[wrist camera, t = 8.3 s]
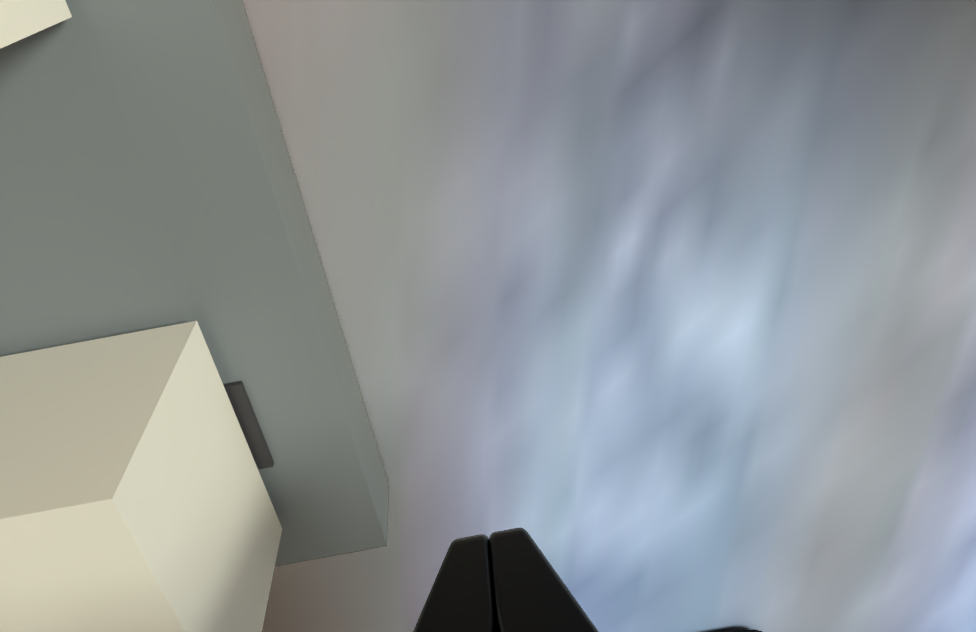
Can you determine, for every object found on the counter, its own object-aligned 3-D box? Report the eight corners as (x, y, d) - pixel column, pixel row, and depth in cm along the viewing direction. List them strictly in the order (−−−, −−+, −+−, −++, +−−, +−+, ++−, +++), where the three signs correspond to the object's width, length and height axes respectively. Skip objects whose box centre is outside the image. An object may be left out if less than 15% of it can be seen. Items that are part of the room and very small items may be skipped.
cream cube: (196, 321, 11) (111, 498, 8) (282, 528, 13) (241, 734, 10) (-89, 373, 11) (-284, 570, 8) (41, 572, 13) (-74, 790, 10)
